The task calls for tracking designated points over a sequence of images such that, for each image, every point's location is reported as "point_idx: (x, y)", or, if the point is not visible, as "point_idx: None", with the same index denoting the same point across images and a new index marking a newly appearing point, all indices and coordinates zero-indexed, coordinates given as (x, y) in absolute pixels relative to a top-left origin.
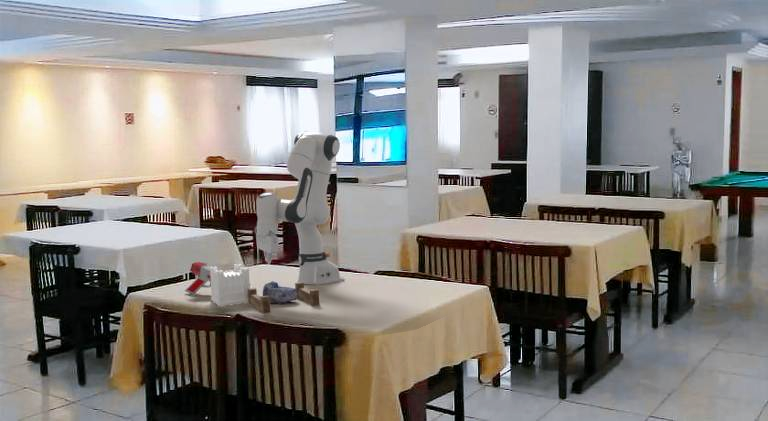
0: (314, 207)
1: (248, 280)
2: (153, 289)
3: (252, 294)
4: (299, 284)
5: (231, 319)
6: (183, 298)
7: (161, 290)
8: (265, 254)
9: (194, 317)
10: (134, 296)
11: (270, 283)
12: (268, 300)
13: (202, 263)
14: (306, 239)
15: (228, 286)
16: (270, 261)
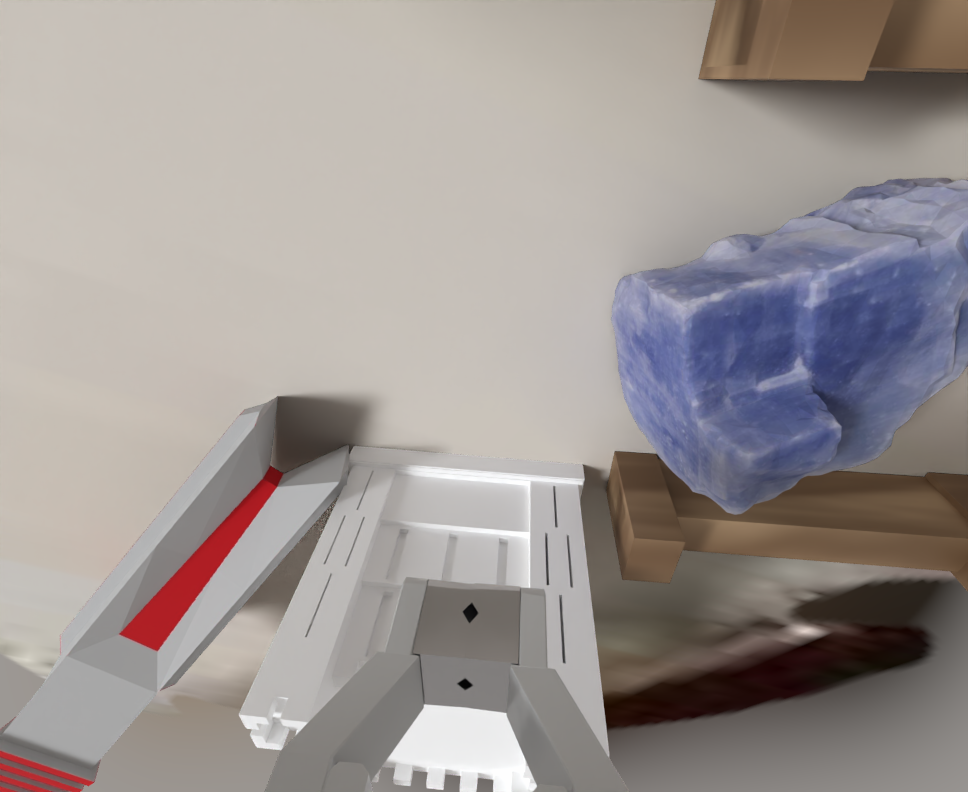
0: None
1: (590, 620)
2: (8, 653)
3: (685, 541)
4: (875, 29)
5: (882, 642)
6: (261, 637)
7: (38, 642)
8: (375, 768)
9: (683, 700)
10: (148, 710)
11: (771, 479)
12: None
13: (6, 768)
14: None
15: None
16: (542, 594)
